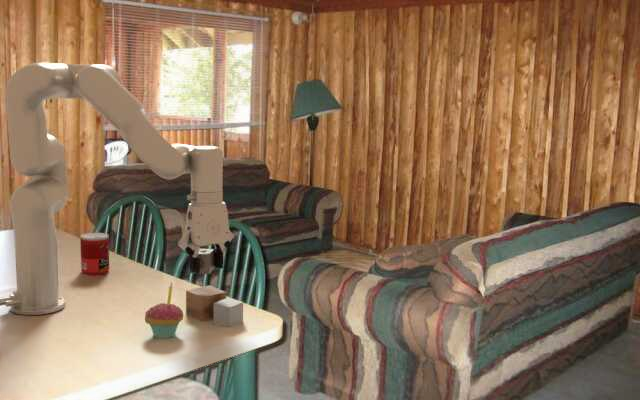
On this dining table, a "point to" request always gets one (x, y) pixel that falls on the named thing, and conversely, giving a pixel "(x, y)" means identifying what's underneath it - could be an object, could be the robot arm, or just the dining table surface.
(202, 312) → the walnut block
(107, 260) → the canned food
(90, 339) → the dining table surface
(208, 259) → the dice cube
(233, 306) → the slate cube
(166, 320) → the cupcake
